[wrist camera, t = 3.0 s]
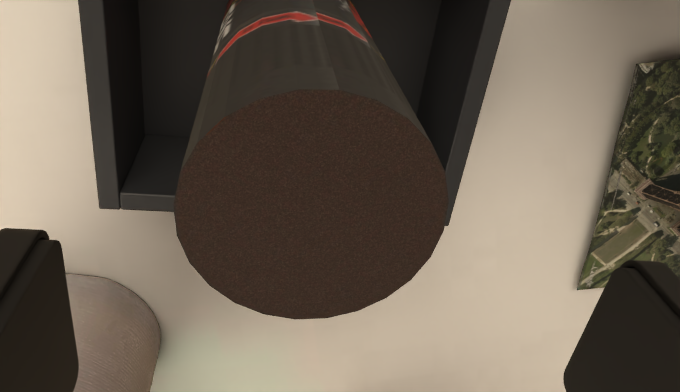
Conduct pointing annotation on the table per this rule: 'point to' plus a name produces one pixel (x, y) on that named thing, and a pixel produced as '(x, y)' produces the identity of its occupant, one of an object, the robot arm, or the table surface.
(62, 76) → the table surface
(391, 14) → the bin
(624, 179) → the eiffel tower figurine
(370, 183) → the deodorant
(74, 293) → the pillar candle
